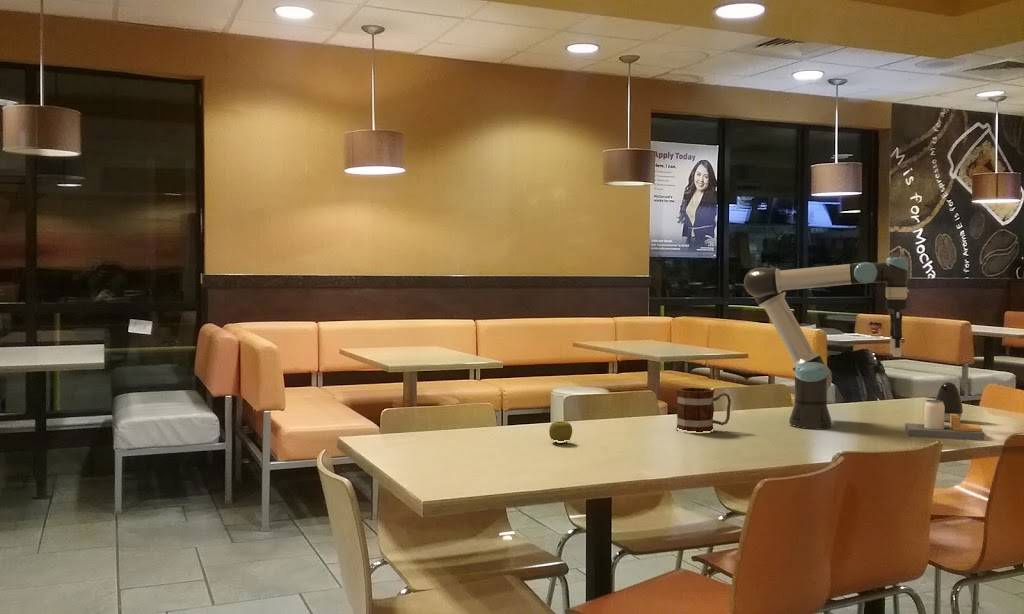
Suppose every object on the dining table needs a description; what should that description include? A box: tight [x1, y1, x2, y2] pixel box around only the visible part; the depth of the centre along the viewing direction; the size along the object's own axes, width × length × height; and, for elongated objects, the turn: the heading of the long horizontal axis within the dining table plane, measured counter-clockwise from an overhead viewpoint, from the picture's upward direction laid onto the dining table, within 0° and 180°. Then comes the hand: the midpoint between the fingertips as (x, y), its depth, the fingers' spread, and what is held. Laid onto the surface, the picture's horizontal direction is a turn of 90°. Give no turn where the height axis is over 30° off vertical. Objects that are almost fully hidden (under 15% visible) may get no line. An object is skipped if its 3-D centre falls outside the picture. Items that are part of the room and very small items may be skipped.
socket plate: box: [904, 422, 985, 441], centre depth 325 cm, size 24×14×2 cm, turn 72°
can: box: [923, 399, 945, 429], centre depth 326 cm, size 6×6×12 cm
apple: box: [548, 421, 573, 441], centre depth 307 cm, size 8×8×7 cm
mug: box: [676, 387, 732, 432], centre depth 332 cm, size 20×14×15 cm
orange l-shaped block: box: [949, 414, 983, 432], centre depth 322 cm, size 9×9×4 cm
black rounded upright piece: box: [935, 381, 964, 423], centre depth 356 cm, size 10×10×15 cm
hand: (895, 355), depth 343 cm, fingers open, 13 cm apart
